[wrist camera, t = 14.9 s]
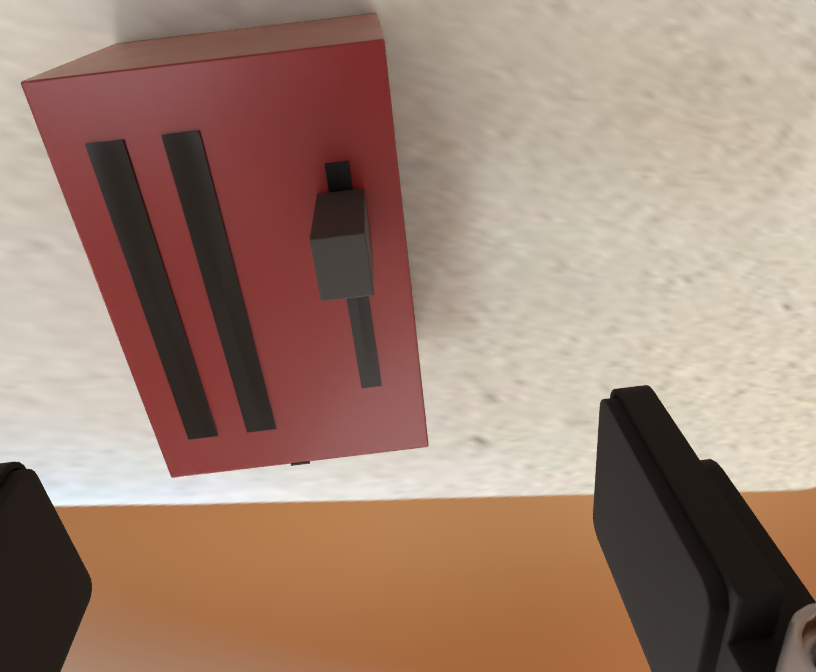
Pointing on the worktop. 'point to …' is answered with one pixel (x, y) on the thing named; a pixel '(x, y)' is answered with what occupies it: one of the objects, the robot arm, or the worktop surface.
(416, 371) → the toaster
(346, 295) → the slider
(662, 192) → the worktop surface
